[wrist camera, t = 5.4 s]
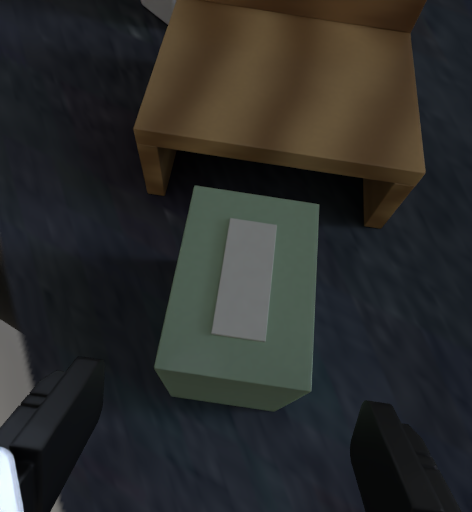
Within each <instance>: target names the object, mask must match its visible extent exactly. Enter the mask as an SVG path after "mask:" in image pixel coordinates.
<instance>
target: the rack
mask: <svg viewBox="0 0 472 512" xmlns="http://www.w3.org/2000/svg"><path fill="white" fill-rule="evenodd" d="M426 1H427V0H176V3H175V6H174V9H173V12H172V15H171V18H170V21H169V24H168V27H167V30H166V33H165V36H164V39H163V42H162V45H161V48H160V51H159V54H158V57H157V60H156V63H155V65H154V68H153V71H152V74H151V77H150V80H149V83H148V86H147V89H146V92H145V95H144V98H143V101H142V104H141V107H140V110H139V113H138V116H137V119H136V122H135V125H134V128H133V130H134V134H135V139H136V143H137V147H138V152H139V156H140V161H141V166H142V170H143V175H144V179H145V184H146V188H147V193H148V194H155V195H162V196H165V194H166V190H167V186H168V182H169V178H170V174H171V171H172V167H173V163H174V159H175V155H176V151H177V150H181V151H188V152H194V153H201V154H207V155H214V156H221V157H227V158H234V159H240V160H247V161H253V162H260V163H266V164H273V165H280V166H286V167H293V168H299V169H306V170H312V171H319V172H325V173H332V174H339V175H345V176H352V177H358V178H363V196H364V226H366V227H373V228H380V229H381V228H382V227H383V225H384V224H385V223H386V222H387V220H388V219H389V218H390V217H391V215H392V214H393V213H394V212H395V210H396V209H397V208H398V207H399V205H400V204H401V203H402V202H403V200H404V199H405V198H406V197H407V195H408V194H409V193H410V192H411V190H412V189H413V188H414V186H416V184H417V183H418V182H419V181H420V179H421V178H422V177H423V176H424V174H425V164H424V155H423V146H422V136H421V127H420V118H419V109H418V100H417V91H416V82H415V73H414V64H413V54H412V45H411V36H410V33H411V31H412V29H413V27H414V25H415V23H416V21H417V19H418V17H419V15H420V13H421V11H422V9H423V7H424V5H425V3H426Z"/></svg>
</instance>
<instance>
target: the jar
mask: <svg viewBox="0 0 472 512" xmlns="http://www.w3.org/2000/svg"><path fill="white" fill-rule="evenodd" d="M141 3H142V5H143V6H144V7H146V8H147V9H148V10H149V11H151V12H152V13H153V14H154V15H156V16H157V17H158V18H160V19H161V20H162V21H163V22H165V23H166V24H167V25H168V24H169V21H170V18H171V15H172V12H173V9H174V6H175V3H176V0H141Z"/></svg>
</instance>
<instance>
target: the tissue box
mask: <svg viewBox="0 0 472 512" xmlns="http://www.w3.org/2000/svg"><path fill="white" fill-rule="evenodd" d="M318 222H319V204H314V203H307V202H301V201H294V200H287V199H281V198H274V197H268V196H261V195H255V194H248V193H241V192H235V191H228V190H222V189H215V188H208V187H202V186H194V189H193V194H192V198H191V203H190V207H189V212H188V216H187V221H186V225H185V230H184V234H183V239H182V243H181V248H180V252H179V257H178V261H177V266H176V270H175V275H174V279H173V284H172V288H171V293H170V297H169V302H168V306H167V311H166V315H165V320H164V324H163V329H162V333H161V338H160V342H159V347H158V351H157V356H156V360H155V365H154V369H155V371H156V372H157V374H158V375H159V377H160V379H161V380H162V382H163V384H164V385H165V387H166V388H167V390H168V392H169V393H170V395H171V396H173V397H179V398H186V399H193V400H200V401H206V402H213V403H220V404H226V405H233V406H240V407H247V408H253V409H260V410H267V411H276V410H278V409H280V408H282V407H284V406H286V405H287V404H289V403H291V402H293V401H295V400H297V399H298V398H300V397H302V396H304V395H306V394H308V393H309V392H311V386H312V363H313V339H314V316H315V293H316V269H317V246H318Z"/></svg>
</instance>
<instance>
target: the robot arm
mask: <svg viewBox="0 0 472 512" xmlns="http://www.w3.org/2000/svg"><path fill="white" fill-rule="evenodd" d="M104 369H105V363H104V360H101V359H94V358H88V357H81V356H78V357H77V358H76V359H75V360H74V362H73V363H72V364H71V365H70V367H69V368H68V369H67V371H66V372H64V371H57V370H56V371H54V372H53V373H51V374H50V375H48V376H46V377H45V378H43V379H41V380H40V381H39V382H38V384H37V385H36V386H35V387H34V388H33V389H32V391H31V392H30V394H29V395H27V397H26V398H25V399H24V400H23V401H22V402H21V405H20V406H18V407H17V408H16V410H15V411H14V412H13V413H12V414H11V416H10V417H9V418H8V419H7V420H6V422H5V423H4V424H3V425H2V426H1V427H0V512H50V511H51V509H52V507H53V506H54V504H55V502H56V500H57V498H58V496H59V494H60V492H61V490H62V488H63V487H64V485H65V483H66V481H67V479H68V477H69V475H70V473H71V471H72V470H73V468H74V466H75V464H76V462H77V460H78V458H79V456H80V454H81V453H82V451H83V449H84V447H85V445H86V443H87V441H88V439H89V437H90V436H91V434H92V432H93V430H94V428H95V426H96V424H97V422H98V420H99V417H100V414H101V410H102V405H103V391H104ZM350 457H351V463H352V466H353V470H354V473H355V477H356V480H357V484H358V487H359V490H360V494H361V497H362V501H363V504H364V508H365V511H366V512H461V510H460V508H459V506H458V504H457V502H456V500H455V499H454V497H453V495H452V493H451V491H450V489H449V488H448V486H447V484H446V482H445V480H444V478H443V476H442V475H441V473H440V471H439V470H437V465H436V463H435V462H434V460H433V458H432V457H430V452H429V451H428V449H427V447H426V445H425V443H424V441H423V439H422V438H421V437H420V436H419V435H418V434H417V433H416V432H415V431H414V430H413V429H412V428H411V427H410V426H409V425H408V424H402V423H401V422H400V420H399V418H398V416H397V414H396V412H395V410H394V408H393V406H392V405H391V404H386V403H380V402H373V401H367V400H366V401H364V402H363V404H362V406H361V409H360V412H359V416H358V419H357V422H356V426H355V429H354V432H353V436H352V439H351V444H350Z"/></svg>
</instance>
